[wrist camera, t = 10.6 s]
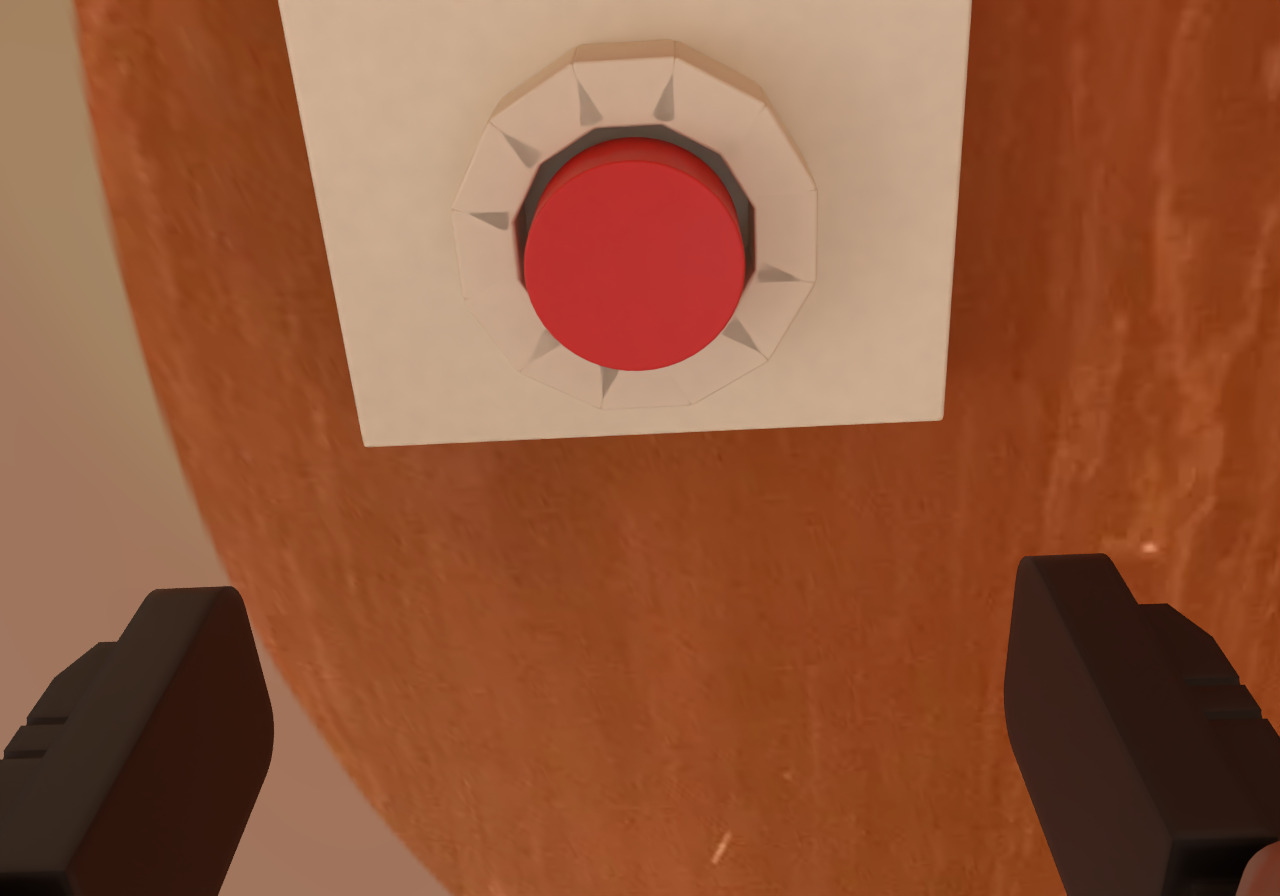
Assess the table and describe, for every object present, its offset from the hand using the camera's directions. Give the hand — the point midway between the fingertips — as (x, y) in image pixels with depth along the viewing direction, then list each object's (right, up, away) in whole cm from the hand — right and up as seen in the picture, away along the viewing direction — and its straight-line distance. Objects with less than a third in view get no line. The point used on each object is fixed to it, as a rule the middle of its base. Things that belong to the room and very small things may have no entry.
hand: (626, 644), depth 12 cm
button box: (0, +8, +14) cm, 16 cm away
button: (0, +6, +11) cm, 13 cm away
